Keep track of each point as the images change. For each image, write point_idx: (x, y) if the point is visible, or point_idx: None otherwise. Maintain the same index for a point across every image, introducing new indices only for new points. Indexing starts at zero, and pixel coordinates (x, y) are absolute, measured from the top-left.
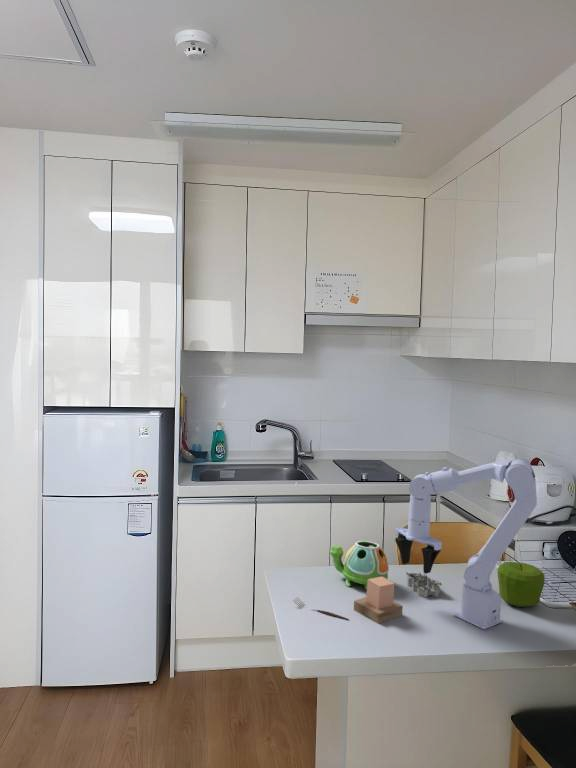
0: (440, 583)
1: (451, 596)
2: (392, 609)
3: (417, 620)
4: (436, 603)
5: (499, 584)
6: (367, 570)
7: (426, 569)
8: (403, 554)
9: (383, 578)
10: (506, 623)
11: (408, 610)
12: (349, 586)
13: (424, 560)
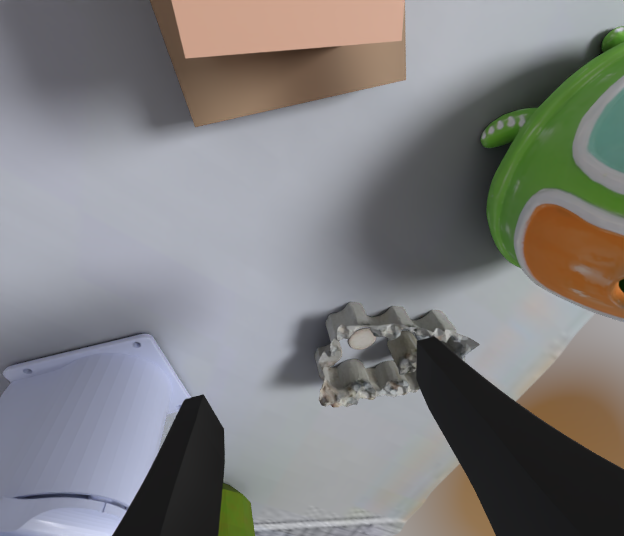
0: (325, 402)
1: (296, 389)
2: (153, 7)
3: (123, 161)
4: (266, 326)
5: (221, 528)
6: (616, 119)
7: (171, 437)
8: (471, 412)
9: (351, 15)
10: None
11: (242, 185)
12: (606, 35)
13: (145, 533)
